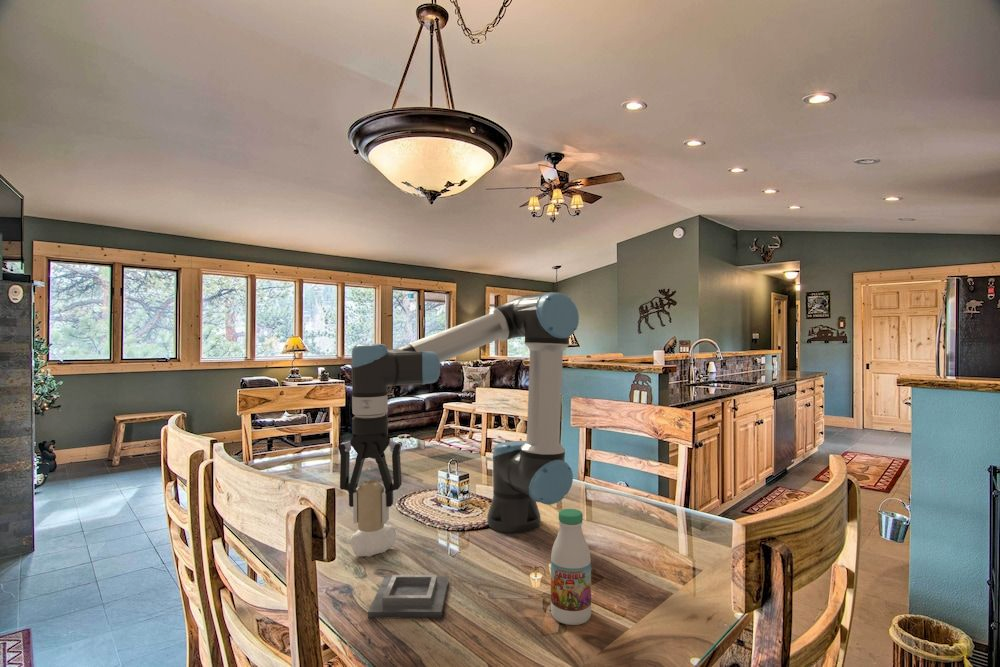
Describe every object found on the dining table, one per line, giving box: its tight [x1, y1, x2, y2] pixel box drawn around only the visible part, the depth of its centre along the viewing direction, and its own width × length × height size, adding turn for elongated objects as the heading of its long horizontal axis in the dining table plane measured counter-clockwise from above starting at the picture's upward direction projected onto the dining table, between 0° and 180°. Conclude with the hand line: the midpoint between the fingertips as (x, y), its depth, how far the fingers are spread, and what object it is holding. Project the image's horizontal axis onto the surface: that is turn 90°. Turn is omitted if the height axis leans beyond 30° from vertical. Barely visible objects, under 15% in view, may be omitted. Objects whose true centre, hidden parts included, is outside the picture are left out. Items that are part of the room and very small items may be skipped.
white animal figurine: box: [348, 523, 397, 558], centre depth 129 cm, size 12×8×11 cm
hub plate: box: [367, 574, 450, 619], centre depth 106 cm, size 14×14×3 cm
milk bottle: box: [550, 508, 592, 626], centre depth 100 cm, size 8×8×20 cm
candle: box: [357, 479, 385, 532], centre depth 112 cm, size 6×6×10 cm
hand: (371, 520), depth 112 cm, fingers closed on candle, 5 cm apart
